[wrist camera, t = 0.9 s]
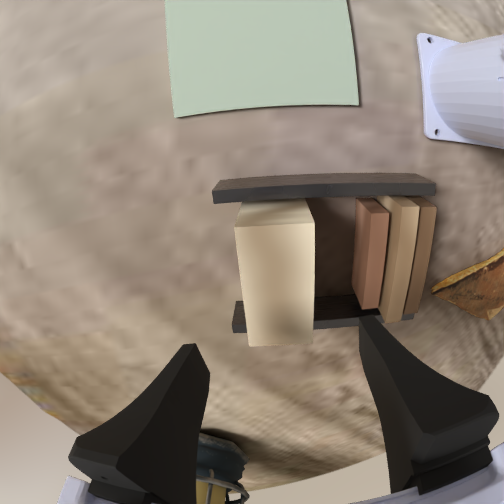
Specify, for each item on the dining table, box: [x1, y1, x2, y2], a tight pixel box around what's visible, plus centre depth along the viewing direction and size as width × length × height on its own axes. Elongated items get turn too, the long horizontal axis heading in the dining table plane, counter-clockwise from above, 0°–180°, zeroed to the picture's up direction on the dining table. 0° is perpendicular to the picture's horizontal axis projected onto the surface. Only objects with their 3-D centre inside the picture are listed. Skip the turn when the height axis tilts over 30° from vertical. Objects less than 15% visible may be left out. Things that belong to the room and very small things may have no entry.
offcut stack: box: [351, 195, 437, 324], centre depth 19 cm, size 4×8×4 cm, turn 5°
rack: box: [212, 173, 436, 333], centre depth 20 cm, size 14×11×3 cm
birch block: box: [234, 198, 315, 346], centre depth 19 cm, size 4×8×6 cm, turn 5°
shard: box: [431, 248, 504, 320], centre depth 21 cm, size 11×8×2 cm
